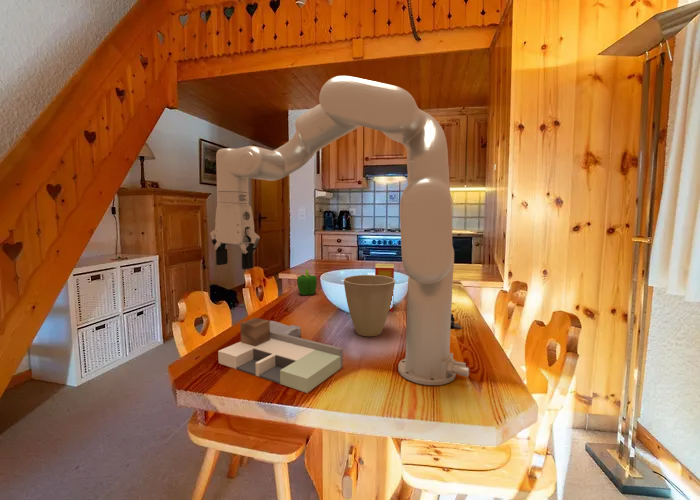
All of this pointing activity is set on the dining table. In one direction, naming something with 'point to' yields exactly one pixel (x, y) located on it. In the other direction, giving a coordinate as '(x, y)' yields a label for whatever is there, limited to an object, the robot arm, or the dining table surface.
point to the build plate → (454, 325)
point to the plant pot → (369, 302)
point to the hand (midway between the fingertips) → (234, 266)
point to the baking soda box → (385, 272)
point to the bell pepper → (307, 284)
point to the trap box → (285, 360)
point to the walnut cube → (255, 331)
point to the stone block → (285, 329)
